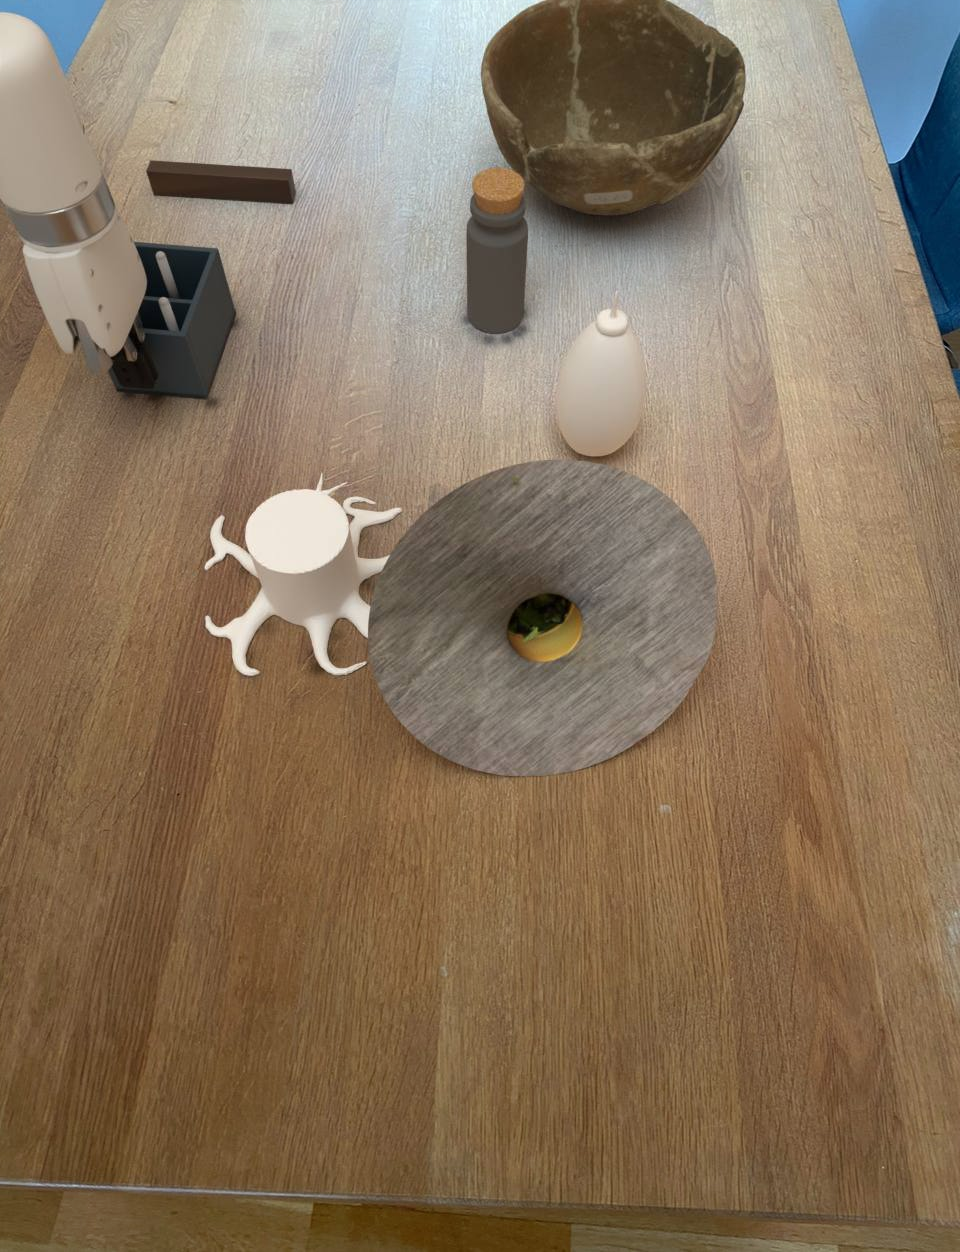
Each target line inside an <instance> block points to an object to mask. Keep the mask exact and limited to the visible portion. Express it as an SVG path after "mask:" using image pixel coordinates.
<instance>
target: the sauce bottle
mask: <svg viewBox="0 0 960 1252" xmlns="http://www.w3.org/2000/svg"><path fill="white" fill-rule="evenodd" d="M618 306H619V291H618V290H616V291H615V293H614V295H613V299H612V303H611V308H606V309H603V310H601V311H599V312H598V314H597V316H596V317H595V320H593V321H592V322H590V324H588V325H587V326H585V328H584V329H583V330H582V331H581V332H580V333H579V334H578V336H577V337H576V338H575V340H574V341H573V343H572V344H571V346H570V348H569V349H568V351H567V354H566V356H565V358H564V360H563V362H562V365H561V367H560V370H559V374H558V377H557V382H556V387H555V394H554V395H555V396H554V405H555V408H554V409H555V418H556V420H557V421H556V422H557V425H558V428H559V431H560V433H561V435H562V437H563V439H564V440H565V442H566V443H567V444H568V446H569V447H570V448H571V449H572V450H573V451H574V452H576V453H578V454H580V455H582V456H587V457H604V456H607V455H610V454H612V453H614V452H616V451H618V450H619V449H620V448H621V447H623V446H624V445H625V444H626V443H627V442H628V441H629V440H630V438H631V437H632V435H634V432H635V431H636V429H637V427H638V425H639V423H640V420H641V418H642V415H643V411H644V407H645V400H646V395H647V394H646V393H647V378H646V377H647V375H646V366H645V361H644V356H643V352H642V349H641V346H640V343H639V341H638V338H637V336H636V334H635V332H634V331H633V329H632V328H631V326H630V325H629V318H628V316H627V314H626V313H625V312H624V311H622V310H620V309H618Z"/></svg>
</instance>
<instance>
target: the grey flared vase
mask: <svg viewBox="0 0 960 1252" xmlns="http://www.w3.org/2000/svg"><path fill="white" fill-rule="evenodd" d="M389 555H390V556H389ZM389 555H388V556H389V558H388V560H387V561H386V563H385V565H384V567H383V569H382V572H380V573H379V576H378V579H377V581H376V584H375V587H374V591H373V594H372V598H371V602H370V612H369V620H368V638H367V644H368V654H369V660H370V664H371V668H372V672H373V675H374V679H375V681H376V684H377V686H378V689H379V691H380V694H381V695H382V697H383V699H384V701H385V702H386V704H387V706H388V707H389V709H390V710H391V712H392V714H393V715H394V716H395V717H396V719H397V720H398V721H399V722H400V724H401V725H402V726H403V727H404V728H405V729H406V730H407V731H408V732H409V734H411V735H412V736H413V737H414V738H415V739H416V740H418V741H419V743H421V744H423V746H425V747H426V748H428V749H429V750H431V751H433V752H434V753H435V754H437V755H439V756H441V757H443V758H445V759H447V760H449V761H450V762H453V763H456V764H458V765H460V766H463V767H467V768H468V769H471V770H475V771H477V772H478V771H479V772H483V773H487V774H491V775H497V776H506V777H507V776H510V777H546V776H554V775H560V774H565V773H570V772H571V773H572V772H573V771H574V772H575V771H579V770H582V769H586V768H589V767H591V766H594V765H598V764H600V763H602V762H605V761H607V760H609V759H611V758H614V757H616V756H617V755H619V754H621V753H622V752H624V751H625V750H628V749H629V748H631V747H632V746H634V745H635V744H636V743H638V742H640V741H641V740H642V739H644V738H646V737H647V736H649V735H650V734H652V733H653V732H655V730H657V728H658V727H660V726H661V725H662V724H663V723H664V722H665V721H667V719H668V718H669V717H670V716H672V714H673V713H674V712H675V710H676V709H678V707H679V706H680V705H681V703H682V702H683V701H684V699H685V698H686V697H687V696H688V694H689V691H690V690H691V688H692V686H693V684H694V683H695V681H696V679H697V678H698V676H699V675H700V674H701V672H702V670H703V668H704V666H705V665H706V663H707V661H708V658H709V657H710V653H711V650H712V647H713V643H714V639H715V634H716V629H717V618H718V607H719V591H718V581H717V576H716V569H715V566H714V562H713V559H712V557H711V554H710V552H709V549H708V547H707V544H706V542H705V540H704V539H703V537H702V535H701V533H700V532H699V530H698V528H697V527H696V525H695V524H694V523H693V521H692V520H691V519H690V517H689V516H688V515H687V514H686V512H685V511H684V510H683V509H682V508H681V507H680V506H679V505H678V504H677V503H676V502H675V501H674V500H673V499H672V498H670V497H669V496H668V495H667V494H666V493H664V492H663V491H662V490H660V489H659V488H658V487H656V486H654V485H653V484H651V483H650V482H648V481H647V480H644V479H642V478H640V477H638V476H637V475H634V474H633V473H630V472H628V471H625V470H623V469H620V468H617V467H613V466H610V465H606V464H603V463H598V462H593V461H587V460H579V459H578V460H576V459H544V460H543V459H541V460H533V461H527V462H522V463H517V464H513V465H509V466H505V467H502V468H497V469H496V470H493V471H490V472H488V473H485V474H482V475H480V476H477V477H475V478H473V479H472V480H469V481H467V482H465V483H463V484H462V485H460V486H458V487H456V488H455V489H453V490H452V491H450V492H449V493H447V494H446V495H444V496H443V497H442V498H440V499H439V500H438V501H436V502H435V503H433V505H431V506H430V507H429V508H428V509H426V511H424V512H423V513H422V514H421V515H420V516H419V517H418V518H417V519H416V520H415V521H414V522H413V523H412V524H411V525H410V527H409V528H408V529H407V530H406V531H405V533H404V534H403V535H402V536H401V538H399V540H398V542H397V543H396V544H395V546H394V548H393V550H392V551H391V552H390V554H389Z"/></svg>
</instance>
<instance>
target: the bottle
mask: <svg viewBox="0 0 960 1252" xmlns="http://www.w3.org/2000/svg"><path fill="white" fill-rule="evenodd" d="M471 186H472V191H473V194H472V195H471V197H470V202H469V212H470V214H471V216H470V217H469V218H468V220H467V222H466V307H467V308H466V309H467V310H466V312H467V319H468V321H469V323H470V324H471V325H472V326H473V327H474V328H476V329H477V330H479V331H481V332H484V333H488V334H496V335H497V334H504V333H508V332H510V331H512V330H515V328H517V327H518V326H519V325H520V324H521V322H522V320H523V317H524V313H525V311H524V309H525V297H526V279H527V277H526V276H527V263H528V262H527V261H528V258H527V257H528V244H529V243H528V240H529V226H528V221H527V220H526V218H525V217H524V216H525V213H526V209H527V207H526V205H527V204H526V202H527V201H526V198H525V196H524V190H525V186H526V185H525V180H524V179H523V178H522V177H521V176H520V175H519V174H518V173H516V172H515V171H514V170H513V169H509V168H505V167H491V168H490V167H489V168H487V169H484V170H482V171H480V172H479V173H477V174H476V175H475V176H474V178H473V179H472V185H471Z"/></svg>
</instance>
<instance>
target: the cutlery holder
mask: <svg viewBox="0 0 960 1252" xmlns="http://www.w3.org/2000/svg"><path fill="white" fill-rule="evenodd" d="M133 242H134V244H135V247H136V249H137V251H138V254H139V256H140V259H141V262H142V265H143V267H144V271H145V274H146V278H147V286H146V291H145V295H144V297H143V300H142V303H141V305H140V308H139V313H138V314H139V317H140V320H141V323H142V326H143V329H144V333H145V340H144V342H142V344H146V346H147V348H148V351H149V353H150V355H151V358H152V360H153V363H154V365H155V367H156V370H157V372H158V378H157V380H156V381H155V386H154V388H153V389H139V388H125V387H122V386H121V385H120V384H119V382H118V380H117V377H116V375H115V373H114V371H113V369H112V367H111V368H110V369H109V371H108V372H107V373H108V375H109V377H110V380H111V382H112V384H113V386H114V388H115V391H116V392H119V393H130V394H141V395H155V396H164V397H174V398H175V397H176V398H188V399H198V400H199V399H201V400H208V397H209V394H210V393H211V388H212V387H213V386H212V385H213V383H214V380H215V377H216V374H217V371H218V368H219V365H220V362H221V359H222V356H223V353H224V350H225V349H226V348H225V347H226V345H227V342H228V338H229V336H230V332H231V330H232V327H233V325H234V321H235V318H236V315H237V312H236V308H235V304H234V300H233V297H232V294H231V293H232V292H231V290H230V287H229V282H228V279H227V276H226V271H225V267H224V265H223V261H222V258H221V254H220V249H219V248H218V247H207V246H192V245H183V244H182V245H180V244H168V243H167V244H166V243H156V242H155V243H154V242H144V241H143V242H142V241H133Z"/></svg>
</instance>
